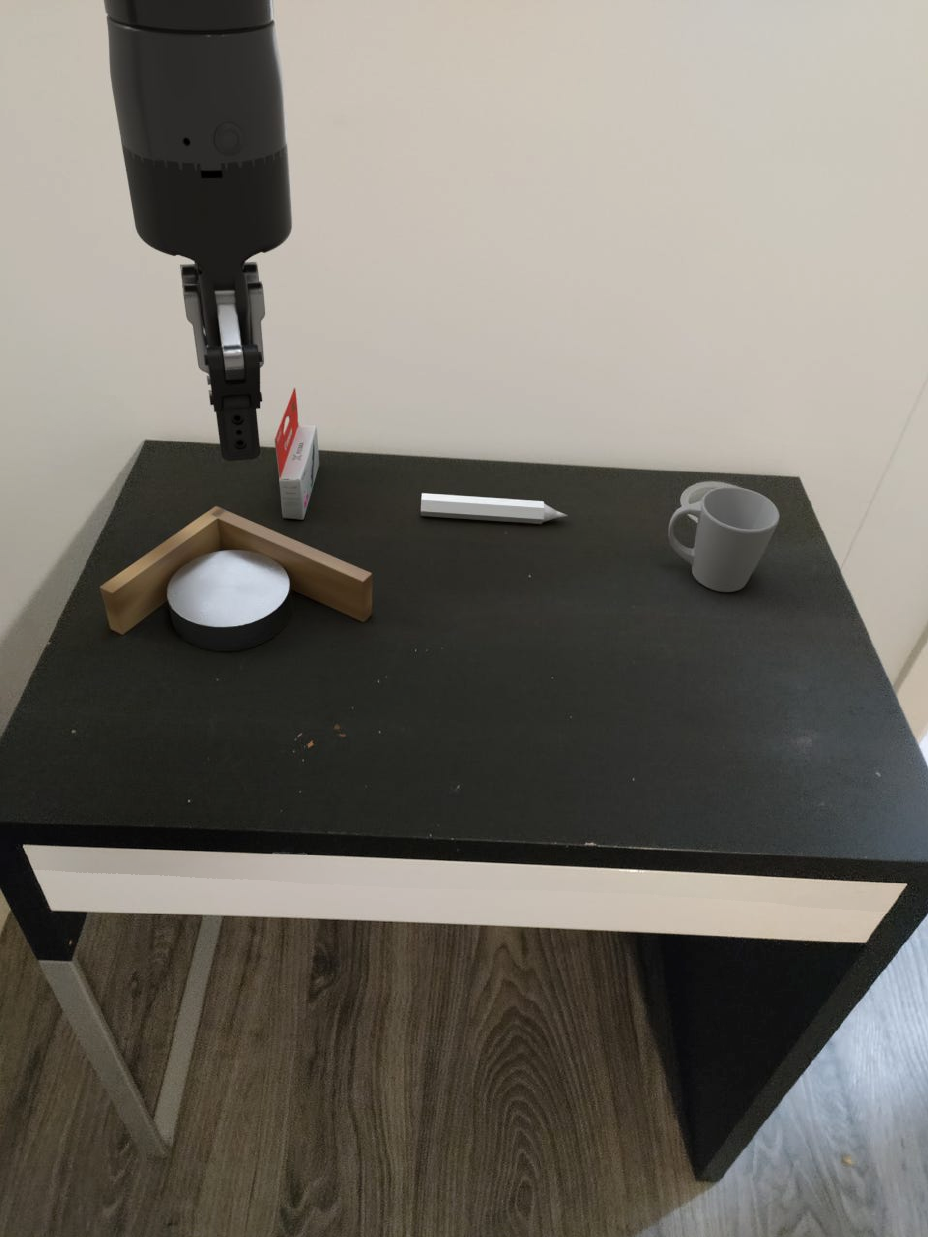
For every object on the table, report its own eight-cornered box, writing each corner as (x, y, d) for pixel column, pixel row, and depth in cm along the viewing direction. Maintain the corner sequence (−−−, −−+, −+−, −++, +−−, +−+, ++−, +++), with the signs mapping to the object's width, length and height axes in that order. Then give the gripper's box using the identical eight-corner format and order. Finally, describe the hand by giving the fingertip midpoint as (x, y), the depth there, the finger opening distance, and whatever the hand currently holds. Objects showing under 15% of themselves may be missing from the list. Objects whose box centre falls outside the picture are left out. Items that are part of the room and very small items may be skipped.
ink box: (320, 464, 107) (316, 387, 100) (303, 521, 98) (298, 441, 92) (298, 462, 107) (293, 385, 100) (280, 519, 98) (273, 439, 92)
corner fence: (272, 712, 78) (267, 670, 75) (110, 629, 84) (99, 586, 81) (372, 614, 88) (372, 573, 85) (221, 546, 94) (215, 505, 91)
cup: (756, 606, 93) (781, 537, 87) (656, 587, 94) (674, 518, 88) (756, 560, 98) (779, 493, 93) (661, 543, 100) (678, 476, 94)
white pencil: (566, 528, 102) (420, 518, 101) (566, 511, 102) (421, 500, 102) (570, 518, 99) (420, 507, 99) (570, 500, 100) (422, 489, 99)
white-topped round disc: (238, 668, 82) (235, 643, 80) (145, 621, 86) (140, 596, 84) (315, 601, 89) (314, 577, 87) (226, 560, 93) (223, 536, 91)
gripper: (120, 94, 47) (170, 403, 58) (118, 178, 37) (179, 526, 49) (270, 95, 49) (291, 394, 60) (305, 175, 39) (321, 512, 51)
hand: (240, 453), depth 55 cm, fingers closed
